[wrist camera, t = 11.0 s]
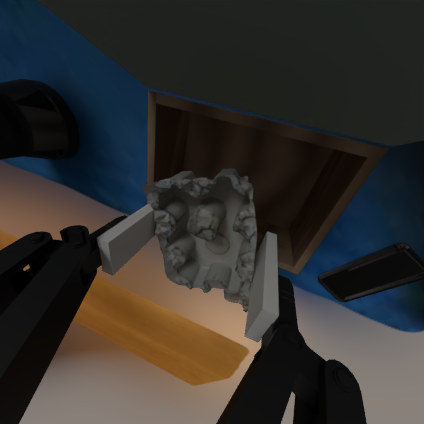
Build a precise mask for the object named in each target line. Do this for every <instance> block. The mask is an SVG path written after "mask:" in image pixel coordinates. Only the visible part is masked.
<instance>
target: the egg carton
mask: <svg viewBox="0 0 424 424" xmlns="http://www.w3.org/2000/svg"><path fill="white" fill-rule="evenodd" d="M142 189H143V191H144V193H145V194H146V196H147V199H148V201H149V204H150V206H151V207H152V208H153V210H154V215H155V216H154V219H153V220H154V221H156V229H155V234H156V235H157V237H158V239H159V242H160V248H161V251H162V253H163V256H164V265H165V273H166V275H167V277H168V278H169V279H170V280H171V281H173V282H174V283H176V284H178V285H185V286H187V287H188V288H189V289H192V288H201V289H203V291H204V292H209V291H210V290H211V288H213V287H214V288H219V289H224V297H225V299H226V300H228V301H230V302H234V303H240V304H241V305H243V308H244V311H245V312H247V311H248V307H249V300H250V290H251V283H252V278H253V271H254V258H255V250H256V243H257V226H256V217H255V208H254V203H253V190H254V189H253V186H252V184H251V183H249V182H248V176H244V177H240V176H239V174H238V172H237V171H236V169H222V171H221V172H220V173H219V174H218V175H217V176H216V177H215V178H214V180H209V179H207V178H203V177H202V178H196V177H195V176H194V174H193V172H192V171H182V172H180V173H179V174H176V175H175V176H173V177H171V178H169V179H164V180H161V181H157V182H153V183H150V184H147V185H143V188H142Z"/></svg>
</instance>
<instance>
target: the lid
mask: <svg viewBox="0 0 424 424" xmlns="http://www.w3.org/2000/svg"><path fill="white" fill-rule="evenodd" d="M37 1H39V2H40V3H41V4H42V5H44V6H45V7H46V8H48V9H49V10H50V11H51V12H53V13H54V14H55V15H56V16H58V17H59V18H60V19H61V20H63V21H64V22H65V23H66V24H68V25H69V26H70V27H72V28H73V29H74V30H75V31H77V32H78V33H79V34H80V35H82V36H83V37H84V38H85V39H87V40H88V41H89V42H91V43H92V44H93V45H94V46H96V47H97V48H98V49H99V50H101V51H102V52H103V53H104V54H106V55H107V56H108V57H110V58H111V59H112V60H113V61H115V62H116V63H117V64H118V65H120V66H121V67H122V68H123V69H125V70H126V71H127V72H128V73H130V74H131V75H132V76H134V77H135V78H136V79H137V80H139V81H140V82H141V83H142V84H144V85H145V86H146V87H149V88H153V89H157V90H162V91H166V92H170V93H174V94H178V95H182V96H186V97H190V98H195V99H199V100H203V101H207V102H211V103H215V104H219V105H224V106H228V107H232V108H236V109H240V110H244V111H248V112H252V113H257V114H261V115H265V116H269V117H273V118H277V119H281V120H286V121H290V122H294V123H298V124H302V125H306V126H310V127H314V128H319V129H323V130H327V131H331V132H335V133H339V134H343V135H347V136H352V137H356V138H360V139H364V140H368V141H372V142H376V143H381V144H385V145H389V146H396V145H402V144H407V143H412V142H417V141H422V140H424V0H37Z"/></svg>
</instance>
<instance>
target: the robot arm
mask: <svg viewBox="0 0 424 424" xmlns="http://www.w3.org/2000/svg"><path fill="white" fill-rule="evenodd" d="M78 142H79V139H78V131H77V127H76V123H75V120H74V118H73V116H72V114H71V112H70V110H69V108H68V106H67V105H66V103H65V102H64V100H63V99H62V98H61V97H60V96H59V94H58V93H57V92H56V91H55V90H53V89H52V88H51V87H50V86H48V85H46V84H45V83H42V82H39V81H34V80H28V79H18V80H13V81H7V82H2V83H0V160H2V159H8V158H15V157H33V158H42V159H51V160H60V159H66V158H70V157H72V156H73V155H74V154H75V153H76V151H77V148H78ZM154 216H155V215H154V210H153V208H152V207H151V206H150V204H147V205H146V206H144V207H143V208H141V209H140V210H138V211H137V212H135V213H134V214H132V215H131V216H129V217H127V216H125V215H124V216H121V217H118V218H116V219H114V220H113V221H111V222H110V223H108V224H106V225H105V226H103V227H101V228H100V229H98V230H96V231H95V232H93V233H92V234H90V235H89V231H88V229H87V228H86V227H85V226H81V225H78V226H70V227H67V228H64V229H63V230H61V231H60V234H61V237H62V240H63V241H62V240H53V239H52V236H51V234H50V233H48V232H35V233H31V234H28V235H26V236H24V237H22V238H20V239H19V240H17V241H15V242H14V243H12V244H10V245H9V246H7V247H5V248H4V249H2V250H0V424H19V422H20V420H21V418H22V417H23V415H24V413H25V411H26V409H27V407H28V405H29V403H30V401H31V399H32V397H33V395H34V393H35V391H36V390H37V388H38V386H39V384H40V382H41V380H42V378H43V376H44V374H45V372H46V370H47V368H48V366H49V364H50V363H51V361H52V359H53V357H54V355H55V353H56V351H57V349H58V347H59V345H60V343H61V341H62V339H63V338H64V336H65V334H66V332H67V330H68V328H69V326H70V324H71V322H72V320H73V318H74V316H75V315H76V313H77V311H78V309H79V307H80V305H81V303H82V301H83V299H84V297H85V295H86V293H87V291H88V289H89V288H90V286H91V284H92V282H93V280H94V278H95V276H96V274H97V268H98V267H99V266H101V265H102V269H103V271H104V272H106V273H108V274H111V275H114V274H115V273H116V272H117V271H118V270H119V269H120V268H121V267H122V266H123V265H124V264H125V263H126V262H127V261H128V260H130V258H132V256H134V255H135V254H136V253H137V252H138V251H139V250H140V249H141V248H142V247H143V246H144V245H145V244H146V243H147V242H148V241H149V240H150V239H151V238H152V237H153V236H154V235H156V234H155V229H156V221H154V220H153V219H154ZM28 264H29V266H30V268H29V269H28V270H26V271H24V270H23V268H24V267H26V266H27V265H28ZM294 302H295V299H294V290H293V286H292V284H291V282H290V280H289V279H288V278H285V277H283V276H280V275H278V261H277V235H276V234H273V233H270V232H268V231H267V233H266V235H265V237H264V239H263V241H262V243H261V245H260V247H259V250H258V252H257V254H256V256H255V263H254V271H253V278H252V285H251V293H250V300H249V307H248V315H247V323H246V329H245V337H247V338H249V339H252V340H254V341H256V342H259V341H260V340H261V338H262V345H261V348H260V350H259V351H258V352H257V353H256V354H255V356H254V357H255V358H254V360H253V361H252V363H251V365H250V366H249V368H248V370H247V372H246V373H245V375H244V377H243V378H242V380H241V382H240V384H239V385H238V387H237V389H236V391H235V392H234V394H233V396H232V398H231V399H230V401H229V403H228V404H227V406H226V408H225V410H224V412H223V413H222V415H221V416H220V418H219V420H218V422H217V423H216V424H281V421H282V418H283V415H284V412H285V409H286V406H287V403H288V401H289V398H290V395H291V392H293V393H294V394H295V405H294V419H293V424H367V423H366V417H365V411H364V406H363V400H362V394H361V390H360V387H359V384H358V382H357V380H356V379H355V377H354V375H353V374H352V373H351V372H350V371H349V369H348V368H347V367H346V366H345V365H343V364H342V363H341V362H339V361H336V360H328V361H325V360H324V359H323V358H322V357H320V356H319V355H318V354H316V353H315V352H314V351H313V350H311V349H310V348H309V347H308V346H307V345H306V343H305V340H304V338H303V337H302V335H301V333H300V332H299V330H298V325H297V316H296V307H295V303H294Z"/></svg>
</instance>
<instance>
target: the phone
mask: <svg viewBox="0 0 424 424" xmlns="http://www.w3.org/2000/svg"><path fill="white" fill-rule="evenodd" d="M422 279H424V262H423V261H422V260H421V258H420V257H419V256H418V255H417V254H416V253H415V252H414V251H413V250H412V249H411V248H410V247H409V246H408V245H407V244H405V243H397V244H394V245H391V246H389V247H386V248H384V249H381V250H379V251H377V252H374V253H372V254H369V255H367V256H364V257H362V258H359V259H357V260H355V261H352V262H350V263H347V264H345V265H342V266H340V267H337V268H335V269H333V270H330V271H328V272H325V273H323V274H320V275H319V276H318V280H319V282H320V283H321V284H322V285H323V286H324V287H325V288H326V289H327V290H328V291H329V292H330V293H331V294H332V295H333V296H334V297H335V298H336V299H337V300H338V301H340V302H348V301H351V300H354V299H358V298H361V297H365V296H368V295H371V294H375V293H378V292H382V291H385V290H388V289H392V288H395V287H399V286H402V285H405V284H409V283H412V282H416V281H419V280H422Z"/></svg>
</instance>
